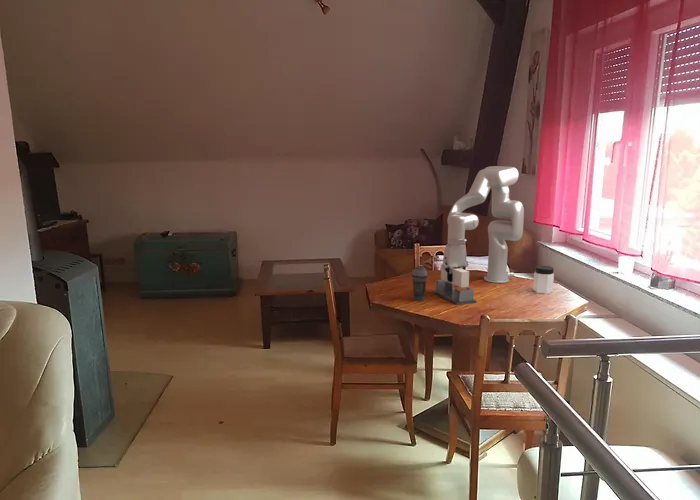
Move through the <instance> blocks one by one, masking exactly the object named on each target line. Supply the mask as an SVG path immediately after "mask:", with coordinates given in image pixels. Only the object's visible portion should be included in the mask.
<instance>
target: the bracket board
mask: <svg viewBox="0 0 700 500" xmlns="http://www.w3.org/2000/svg"><path fill="white" fill-rule="evenodd" d="M465 288H466V289H458V288H455V285H454V284H451V283H449V282H447V281H444V280H442V279H437V280H435V289H432V293H433V294H435V295H436V296H438V297H441V298H443V299H444V300H446V301H448V302H451V303H453V304H454V303H455V305H459V306H460V305H468V304H476V303H477V299H474V292H475V291H474V289H472V288H471V287H465Z"/></svg>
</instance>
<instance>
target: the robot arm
mask: <svg viewBox="0 0 700 500" xmlns="http://www.w3.org/2000/svg"><path fill="white" fill-rule="evenodd" d="M519 173H520V172H519V171H518V169H517V168H516V167H514V166H502V165H501V166H500V165H497V166H496V165H494V166H493V165H492V166H491V165H490V166H487V167H485V168H483V169H480V170H479V171H478V172H477V174H476V176H475V178H474V181H473V183H472V184H471V187H470V188H469V191H468V192H467V193H466V194H465V195H463V196H461V198H459V199H458V200H456V201H455V203H453V205H452V206H451V209H450V211H449V213H448V216H447V221H446V223H447V244H445V247H444V251H443V259H442V264H441V265H440V269H441V268H443V269H444V270H445V271H446V272H447V280H448V281H449V282H452V276H453V274H452V268H453V267H458V268H461V269H464V270H466V268H467V267H469V266H470V265H469V262H468V260H467V258H468V257H467V247H466V245H465V243H467V239H466V237H465V236H466V231H473V230H475V229H476V228H477V227H478V226H479V223H480V222H479V220H480V219H479V217H478V216H477V215H476V214H474V213H467V212H463V211H465V210H466V209H468V208H471V207H474V206H475V207H476V206H477V205H481V204H483V203H484V202H485V201H486V199H487V197H488V195H489V193H490V191H491V215H492V217H495V218H499V219H501V220H499V219H498V220H492V221H490V223H489V224H488V226H487V233H488V234H487V235H488V257H487V258H488V259H487V275H485V276H484V277H483V280H484V281H486V282H488V283H493V284H504V283H505V284H506V283H508V282H510V278H509V277H514V276H515V273H514V272H512V271H511V272H509V271H508V270H507V269H508V268H507V266H508V256H509V255H508V251H509V248H508V244H507V242H506V241H513V242H516V241H517V242H518V241H520V240H521V239H522V237H523V235H524V234H523V233H524V219H525V209H524V205H523V203H522V202H521V201H519V200H514V199H513V200H512V199H510V187H509V186H511V185H512V186H513V185H515V184H516V183H517V181H518V180H519ZM502 219H503V220H502ZM504 219H505V220H504ZM509 220H511V221H509ZM446 266H447V267H446Z"/></svg>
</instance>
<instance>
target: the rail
mask: <svg viewBox="0 0 700 500" xmlns="http://www.w3.org/2000/svg"><path fill="white" fill-rule="evenodd" d="M446 267H447V266H446ZM452 274H453V276H452V282H449V281H448V280H447V272H446V271H445V270H444V269H443V268H441V267H440V280H444V281H447V282H449V283H451V284H454V286H456V287H459V288H466V287H468V288H470V287H469V284H470V283H469V282H470V271H469V270H466V269H461V268H458V267H453V268H452Z"/></svg>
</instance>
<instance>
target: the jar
mask: <svg viewBox="0 0 700 500" xmlns="http://www.w3.org/2000/svg"><path fill="white" fill-rule="evenodd" d="M533 273H534V275H533V290H532V291H534V292H535V293H537V294H545V295H546V294H547V295H549V294H552V293H553V291H554V280H555V279H554V278H555V273H554V267H553V266H550V265H549V266H548V265H537V266H535V271H534V272H533Z"/></svg>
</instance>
